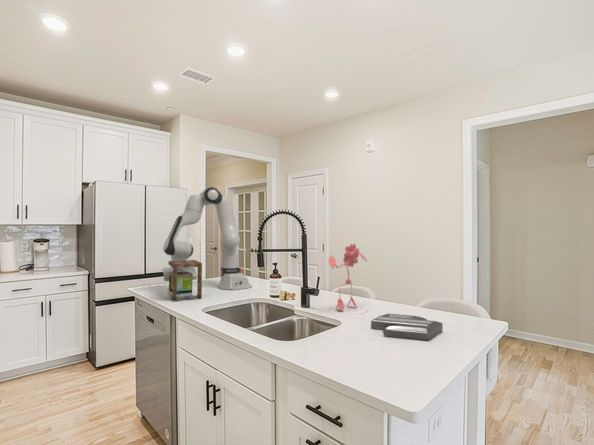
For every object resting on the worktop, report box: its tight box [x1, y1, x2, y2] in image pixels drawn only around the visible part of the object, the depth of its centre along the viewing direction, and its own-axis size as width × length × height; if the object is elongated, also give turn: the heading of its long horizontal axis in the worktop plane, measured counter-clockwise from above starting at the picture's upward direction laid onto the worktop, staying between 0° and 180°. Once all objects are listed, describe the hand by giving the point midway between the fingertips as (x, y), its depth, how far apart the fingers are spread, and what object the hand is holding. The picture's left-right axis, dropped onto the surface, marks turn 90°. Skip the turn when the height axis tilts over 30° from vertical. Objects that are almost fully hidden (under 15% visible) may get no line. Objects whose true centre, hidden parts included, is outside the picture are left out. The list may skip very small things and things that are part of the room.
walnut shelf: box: [167, 259, 203, 303], centre depth 201 cm, size 16×20×21 cm
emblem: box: [370, 313, 444, 341], centre depth 142 cm, size 28×5×28 cm
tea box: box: [168, 271, 194, 298], centre depth 200 cm, size 15×10×15 cm, turn 36°
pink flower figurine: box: [327, 243, 369, 315], centre depth 172 cm, size 15×26×35 cm, turn 130°
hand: (181, 285), depth 208 cm, fingers closed
